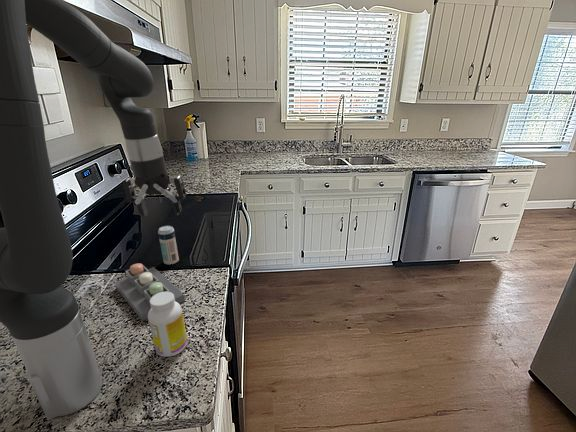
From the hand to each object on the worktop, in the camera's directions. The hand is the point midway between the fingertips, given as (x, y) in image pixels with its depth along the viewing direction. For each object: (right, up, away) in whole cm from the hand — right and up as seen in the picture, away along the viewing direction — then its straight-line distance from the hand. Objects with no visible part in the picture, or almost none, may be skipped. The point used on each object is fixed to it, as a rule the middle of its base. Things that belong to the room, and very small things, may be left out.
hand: (161, 214), depth 82 cm
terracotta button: (-9, -17, +6) cm, 20 cm away
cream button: (-5, -19, +2) cm, 19 cm away
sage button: (0, -21, -2) cm, 21 cm away
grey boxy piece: (-5, -22, +3) cm, 22 cm away
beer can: (-4, -15, +19) cm, 25 cm away
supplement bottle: (+8, -29, -14) cm, 33 cm away
